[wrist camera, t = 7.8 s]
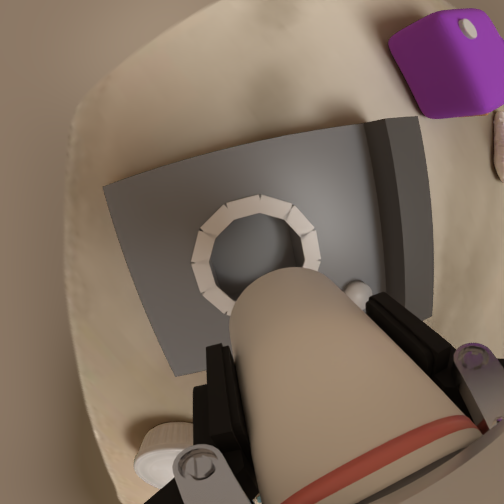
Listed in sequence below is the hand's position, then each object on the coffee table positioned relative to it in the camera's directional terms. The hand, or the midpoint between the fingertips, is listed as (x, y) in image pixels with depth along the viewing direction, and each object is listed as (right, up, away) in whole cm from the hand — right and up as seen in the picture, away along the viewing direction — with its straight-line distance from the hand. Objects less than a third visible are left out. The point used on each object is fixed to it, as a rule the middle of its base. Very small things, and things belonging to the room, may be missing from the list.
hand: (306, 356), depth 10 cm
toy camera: (+18, +23, +13) cm, 32 cm away
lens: (0, +1, +2) cm, 2 cm away
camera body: (0, +5, +15) cm, 16 cm away
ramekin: (-10, -20, +21) cm, 31 cm away
